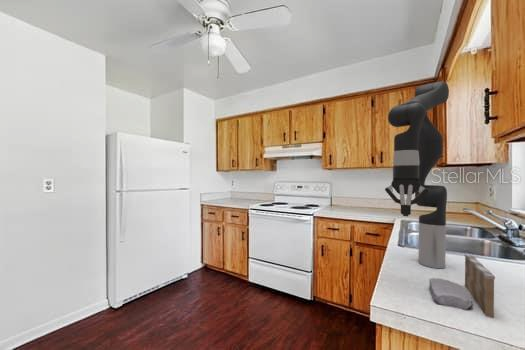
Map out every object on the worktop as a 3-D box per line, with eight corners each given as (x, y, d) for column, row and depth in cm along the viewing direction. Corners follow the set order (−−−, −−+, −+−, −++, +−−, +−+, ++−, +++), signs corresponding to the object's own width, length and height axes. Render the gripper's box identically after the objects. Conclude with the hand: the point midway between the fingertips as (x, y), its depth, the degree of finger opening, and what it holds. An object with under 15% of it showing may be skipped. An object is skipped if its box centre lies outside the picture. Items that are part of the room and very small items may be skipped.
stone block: (462, 299, 75) (425, 286, 79) (467, 285, 74) (429, 273, 79) (475, 321, 64) (431, 304, 69) (480, 305, 64) (436, 289, 68)
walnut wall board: (464, 285, 80) (464, 253, 80) (471, 286, 79) (471, 254, 79) (485, 315, 63) (485, 275, 63) (494, 317, 62) (494, 276, 62)
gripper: (428, 164, 79) (427, 215, 80) (384, 165, 86) (383, 212, 86) (431, 163, 73) (431, 219, 73) (383, 164, 79) (383, 216, 79)
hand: (405, 215), depth 80 cm, fingers closed
